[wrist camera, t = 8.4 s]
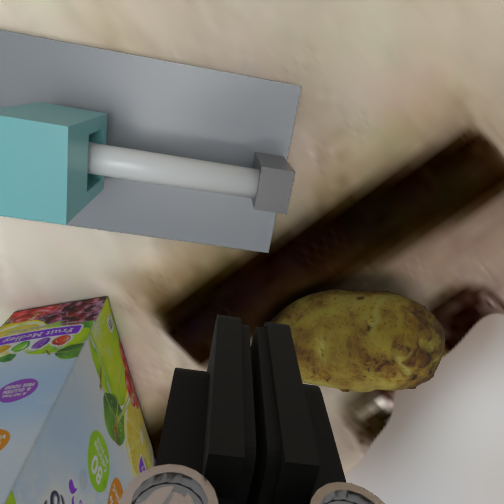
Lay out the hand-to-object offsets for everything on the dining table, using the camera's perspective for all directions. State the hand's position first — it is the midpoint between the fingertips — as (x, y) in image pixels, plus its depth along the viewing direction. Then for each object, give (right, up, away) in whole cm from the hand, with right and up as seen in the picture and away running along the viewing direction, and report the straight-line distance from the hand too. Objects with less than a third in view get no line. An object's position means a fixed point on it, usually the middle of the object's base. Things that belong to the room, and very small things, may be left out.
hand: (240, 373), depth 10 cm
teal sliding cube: (-11, +9, +18) cm, 23 cm away
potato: (+7, -2, +27) cm, 28 cm away
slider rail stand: (-8, +10, +21) cm, 25 cm away
